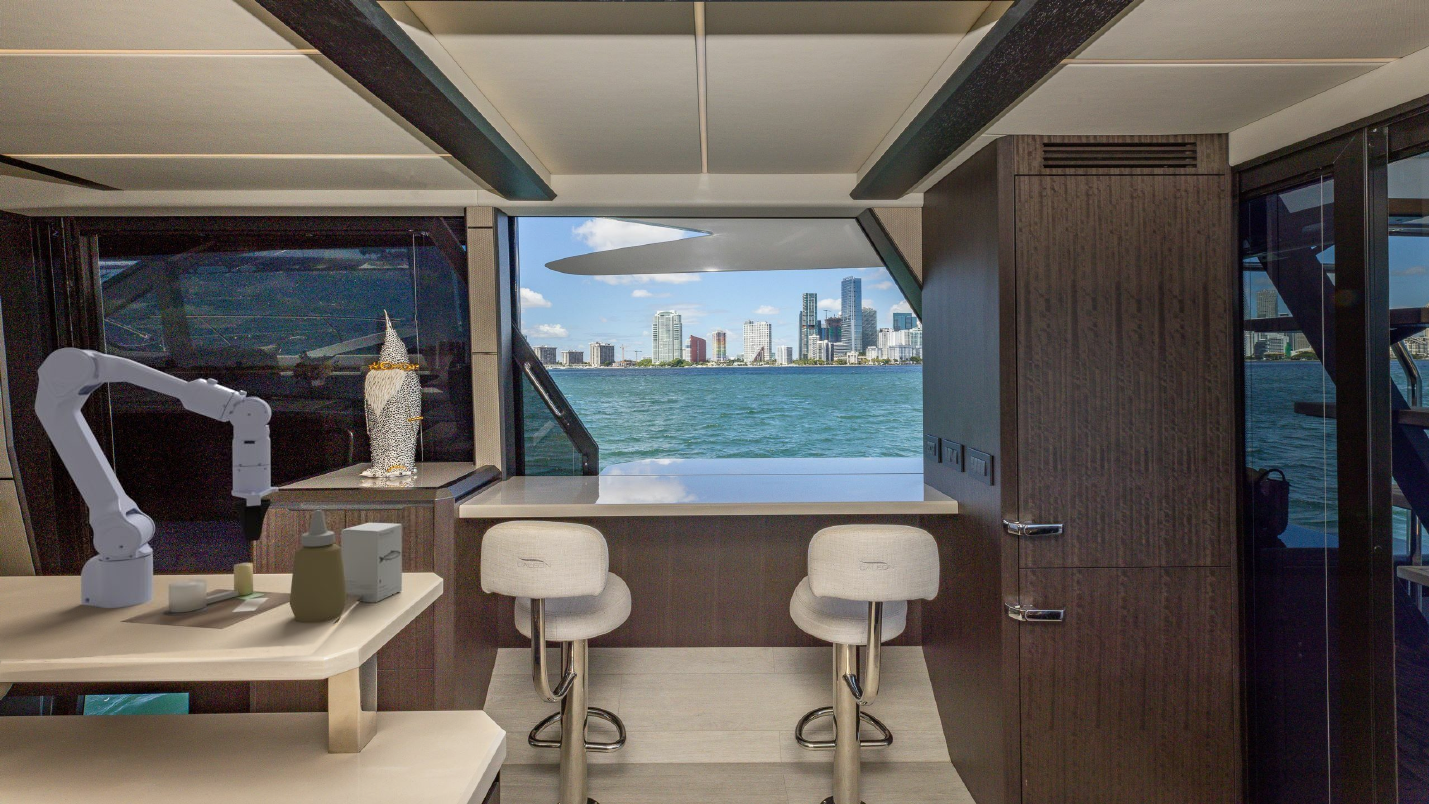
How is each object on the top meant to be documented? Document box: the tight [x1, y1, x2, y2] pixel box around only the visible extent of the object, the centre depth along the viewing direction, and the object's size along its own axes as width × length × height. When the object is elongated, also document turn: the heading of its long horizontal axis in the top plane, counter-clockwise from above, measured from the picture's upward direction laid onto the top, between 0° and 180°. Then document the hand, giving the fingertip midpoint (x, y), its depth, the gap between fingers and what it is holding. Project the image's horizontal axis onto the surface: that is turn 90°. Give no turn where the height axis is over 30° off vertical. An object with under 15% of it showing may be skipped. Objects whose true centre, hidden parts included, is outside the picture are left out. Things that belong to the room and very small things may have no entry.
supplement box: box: [340, 522, 403, 603], centre depth 131 cm, size 7×7×13 cm
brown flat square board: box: [119, 588, 291, 630], centre depth 120 cm, size 18×18×1 cm
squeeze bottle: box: [288, 509, 348, 625], centre depth 116 cm, size 8×8×18 cm
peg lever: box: [167, 562, 254, 612], centre depth 122 cm, size 13×5×5 cm, turn 155°
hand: (252, 540), depth 131 cm, fingers closed
